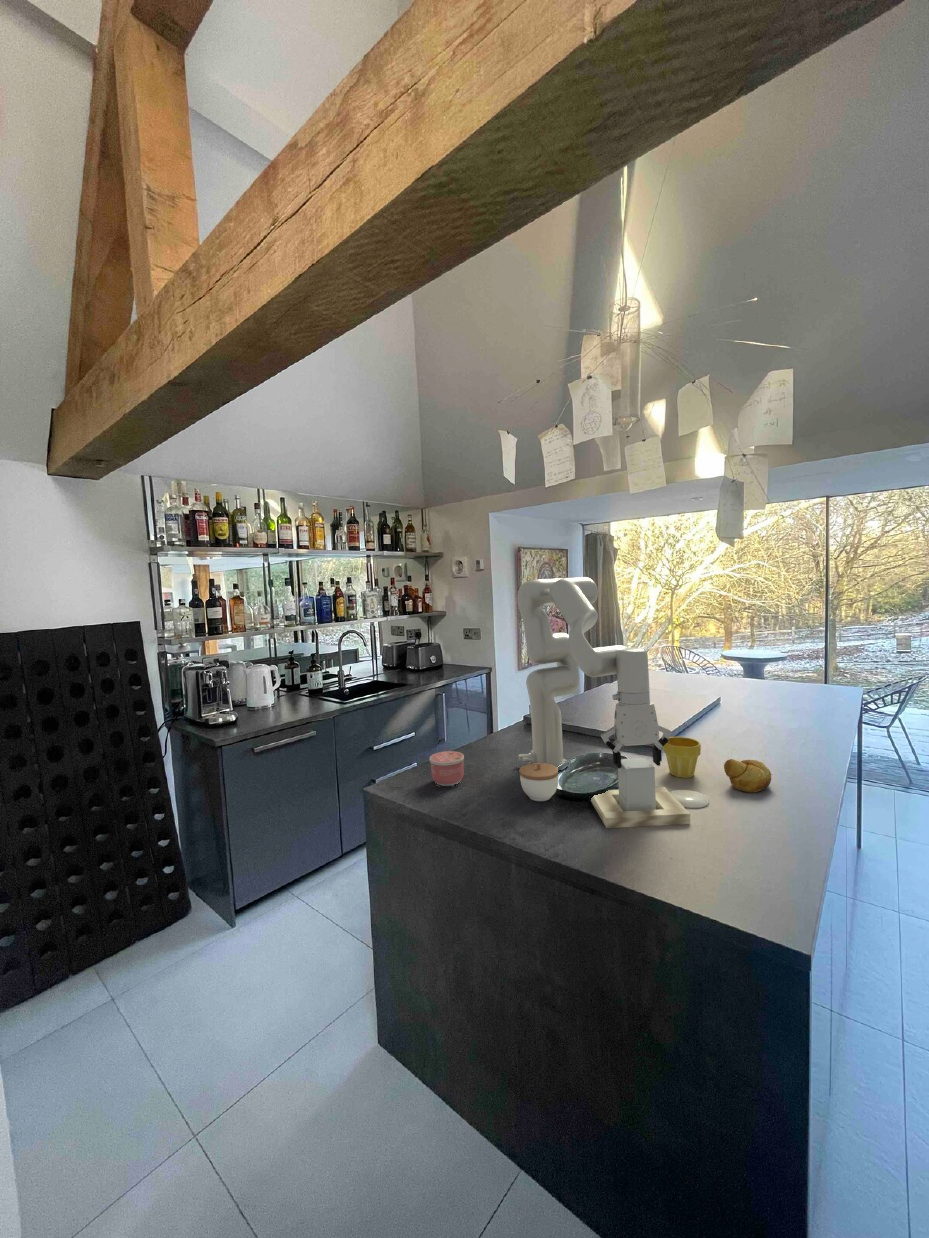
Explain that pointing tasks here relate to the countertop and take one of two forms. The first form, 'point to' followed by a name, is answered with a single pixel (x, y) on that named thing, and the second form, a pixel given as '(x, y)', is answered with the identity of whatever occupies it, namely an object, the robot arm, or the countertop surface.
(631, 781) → the supplement box
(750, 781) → the bread roll
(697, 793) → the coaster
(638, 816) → the board
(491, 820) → the countertop surface
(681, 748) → the plant pot
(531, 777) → the lidded jar
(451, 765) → the container
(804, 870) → the countertop surface
